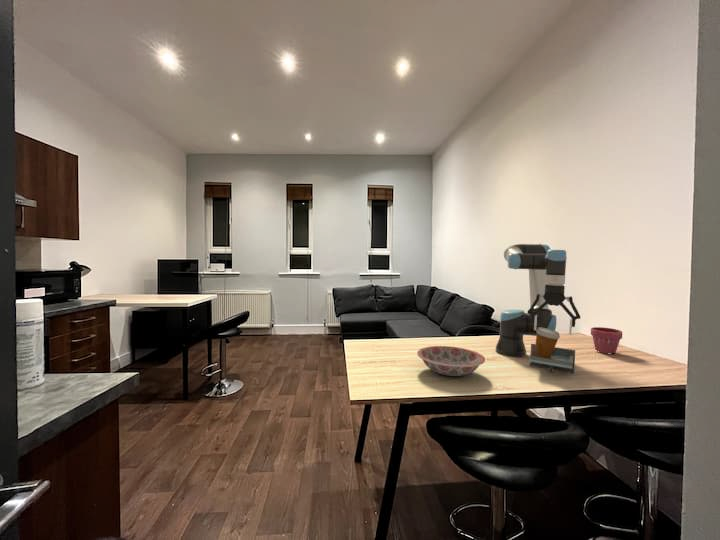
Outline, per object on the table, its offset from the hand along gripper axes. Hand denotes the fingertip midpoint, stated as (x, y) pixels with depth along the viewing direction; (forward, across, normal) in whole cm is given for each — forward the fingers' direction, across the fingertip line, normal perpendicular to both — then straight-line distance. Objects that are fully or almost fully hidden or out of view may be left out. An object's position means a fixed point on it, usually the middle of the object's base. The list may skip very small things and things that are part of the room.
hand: (552, 331), depth 148 cm
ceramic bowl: (+19, -38, -26) cm, 49 cm away
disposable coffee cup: (+12, -3, -1) cm, 12 cm away
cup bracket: (+19, 0, +2) cm, 19 cm away
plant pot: (+20, +24, +58) cm, 66 cm away
